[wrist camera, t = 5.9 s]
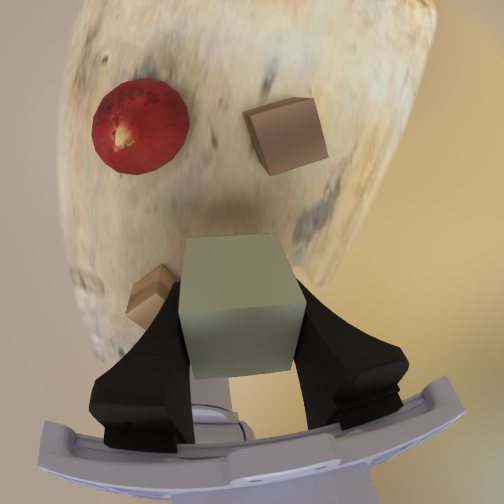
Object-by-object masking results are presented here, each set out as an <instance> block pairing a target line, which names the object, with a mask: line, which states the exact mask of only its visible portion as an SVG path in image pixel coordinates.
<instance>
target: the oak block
mask: <svg viewBox="0 0 504 504" xmlns="http://www.w3.org/2000/svg"><path fill="white" fill-rule="evenodd" d="M174 282H181V281H180V280H179V279H178V278H177V277H176V276H175V275H173V274H172V273H171V272H170V271H169V270H168V269H167V268H166V267H165V266H164V265H163V264H161V265H159V266H158V267H157V268H155V269H154V270H153V271H152V272H150V273H149V274H148V275H146V276H145V277H144V278H142V279H141V280H140V281H138V282H137V283H136V284H135V285H133V288H132V292H131V295H130V299H129V303H128V306H127V310H126V314H125V315H126V316H127V317H129V318H130V319H131V320H133V321H134V322H135V323H137V324H138V325H140V326H141V327H142V328H144V329H145V330H147V329H148V327H149V326H150V324H151V323H152V321H153V320H154V318H155V317H156V315H157V314H158V312H159V310H160V308H161V307H162V305H163V303H164V301H165V299H166V297H167V296H168V294H169V291H170V289H171V287H172V285H173V283H174Z"/></svg>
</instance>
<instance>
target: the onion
mask: <svg viewBox="0 0 504 504" xmlns="http://www.w3.org/2000/svg"><path fill="white" fill-rule="evenodd" d="M188 129H189V118H188V111H187V106H186V105H185V103H184V102H183V100H182V98H181V97H180V95H179V94H178V92H177V91H175V90H174V89H173V88H171V87H170V86H169V85H167V84H166V83H165V82H162V81H158V80H153V79H148V78H143V79H138V80H133V81H128V82H125V83H122V84H120V85H119V86H118V87H116V88H115V89H114V90H112V91H111V92H110V93H108V94H107V95H106V96H104V98H103V99H102V101H101V103H100V105H99V107H98V109H97V111H96V113H95V115H94V117H93V125H92V139H93V143H94V147H95V151H96V152H97V154H98V155H99V156H100V158H101V159H102V160H103V161H104V163H105V164H107V165H108V166H110V167H111V168H113V169H114V170H115V171H117V172H118V173H125V174H133V175H140V174H144V173H148V172H152V171H155V170H157V169H159V168H160V167H162V166H163V165H165V164H166V163H168V162H169V161H171V160H172V159H173V158H174V156H175V155H176V154H177V152H178V151H179V150H180V149H181V147H182V146H183V145H184V142H185V139H186V135H187V132H188Z"/></svg>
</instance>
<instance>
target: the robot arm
mask: <svg viewBox="0 0 504 504" xmlns="http://www.w3.org/2000/svg"><path fill="white" fill-rule="evenodd" d="M296 280H297V282H298V284H299V286H300V288H301V291H302V293H303V295H304V297H305V300H306V306H305V311H304V316H303V320H302V325H301V329H300V333H299V338H298V342H297V346H296V350H295V354H294V358H293V359H294V362H295V365H296V369H297V373H298V377H299V382H300V386H301V391H302V396H303V401H304V406H305V412H306V418H307V424H308V431H304V432H298V433H294V434H288V435H282V436H276V437H271V438H264V439H255V436H254V432H253V431H252V429H251V428H250V427H249V426H248V425H247V423H246V422H244V421H239V419H238V413H237V412H232V405H231V397H230V390H229V382H228V377H227V378H212V379H194V375H193V371H192V367H191V364H190V360H189V356H188V352H187V348H186V344H185V339H184V335H183V331H182V326H181V322H180V317H179V313H178V311H179V297H180V285H181V282H174V283H173V285H172V287H171V289H170V291H169V294H168V296H167V297H166V299H165V301H164V303H163V305H162V307H161V308H160V310H159V312H158V314H157V315H156V317H155V318H154V320H153V321H152V323H151V324H150V326H149V327H148V329H147V330H146V332H145V333H144V334H143V335H142V337H141V338H140V339H139V341H138V342H137V343H136V344H135V345H134V346H133V347H132V349H131V350H130V351H129V352H128V353H127V354H126V355H125V356H124V357H123V358H122V359H121V360H120V361H119V362H117V363H116V364H115V365H114V366H113V367H112V368H111V369H110V370H108V371H107V372H106V373H104V374H103V375H102V376H100V377H99V378H98V379H97V380H95V384H94V386H93V389H92V393H91V398H90V404H89V411H90V413H91V414H92V416H93V417H94V418H96V420H97V421H98V422H100V423H101V424H102V425H103V426H104V427H105V432H104V438H99V437H93V436H88V435H83V434H78V433H75V431H73V430H72V429H71V428H69V427H67V426H65V425H62V424H58V423H54V422H50V421H44V426H43V432H42V437H41V443H40V449H39V456H38V464H37V466H38V467H39V468H40V469H42V470H44V471H46V472H48V473H51V474H53V475H55V476H57V477H59V478H61V479H64V480H66V481H69V482H72V483H76V484H79V485H82V486H86V487H90V488H94V489H98V490H102V491H106V492H111V493H116V494H121V495H126V496H132V497H138V498H145V499H153V500H163V501H169V502H171V503H172V504H380V502H379V498H378V495H377V492H376V489H375V487H374V484H373V481H372V478H371V475H370V472H369V468H372V467H374V466H377V465H379V464H381V463H383V462H385V461H388V460H389V459H392V458H394V457H396V456H398V455H400V454H402V453H404V452H406V451H408V450H409V449H412V448H413V447H415V446H417V445H419V444H421V443H423V442H424V441H426V440H428V439H430V438H431V437H433V436H435V435H436V434H438V433H440V432H441V431H442V430H444V429H445V428H446V427H448V426H449V425H450V424H451V423H453V422H454V421H455V420H456V419H458V418H459V417H460V416H461V415H462V414H464V413H465V412H466V410H465V408H464V406H463V404H462V402H461V400H460V399H459V397H458V395H457V393H456V392H455V390H454V388H453V386H452V385H451V383H450V381H449V380H448V378H447V376H443V377H441V378H439V379H437V380H435V381H433V382H431V383H430V384H429V385H427V386H426V387H425V388H424V389H423V391H422V392H421V393H419V394H417V395H414V396H412V397H410V398H408V399H405V400H403V401H401V399H400V397H399V395H398V392H399V391H400V388H399V386H398V385H397V383H398V382H399V381H400V380H401V379H402V377H403V376H404V375H405V373H406V372H407V370H408V367H409V362H408V360H407V358H406V357H405V355H404V353H403V352H402V350H401V349H400V347H397V346H394V345H391V344H388V343H386V342H383V341H381V340H379V339H376V338H374V337H372V336H370V335H368V334H366V333H364V332H362V331H360V330H359V329H357V328H355V327H354V326H352V325H350V324H349V323H347V322H346V321H344V320H343V319H342V318H340V317H339V316H337V315H336V314H334V313H333V312H332V311H331V310H330V309H328V308H327V307H326V306H325V305H323V304H322V303H321V302H320V301H319V300H318V299H317V298H316V297H315V296H314V295H312V293H310V291H309V290H307V288H305V286H304V285H303V284H302V283H301V282H300V281H299V280H298V279H297V278H296Z"/></svg>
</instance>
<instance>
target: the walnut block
mask: <svg viewBox="0 0 504 504" xmlns="http://www.w3.org/2000/svg"><path fill="white" fill-rule="evenodd" d="M242 114H243V117H244V119H245V122H246V125H247V128H248V131H249V133H250V136H251V139H252V142H253V145H254V148H255V151H256V154H257V156H258V159H259V162H260V163H261V165H262V166H263V167H264V169H265V170H266V171H267V173H268V174H269V175H270V176H273V175H276V174H279V173H282V172H285V171H288V170H291V169H294V168H297V167H300V166H303V165H307V164H310V163H313V162H316V161H319V160H323V159H326V158H329V157H328V153H327V148H326V144H325V140H324V136H323V132H322V128H321V124H320V120H319V117H318V113H317V109H316V106H315V102H314V99H313V98H295V97H294V98H290V99H286V100H283V101H279V102H275V103H272V104H268V105H265V106H262V107H258V108H255V109H252V110H249V111H246V112H243V113H242Z"/></svg>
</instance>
